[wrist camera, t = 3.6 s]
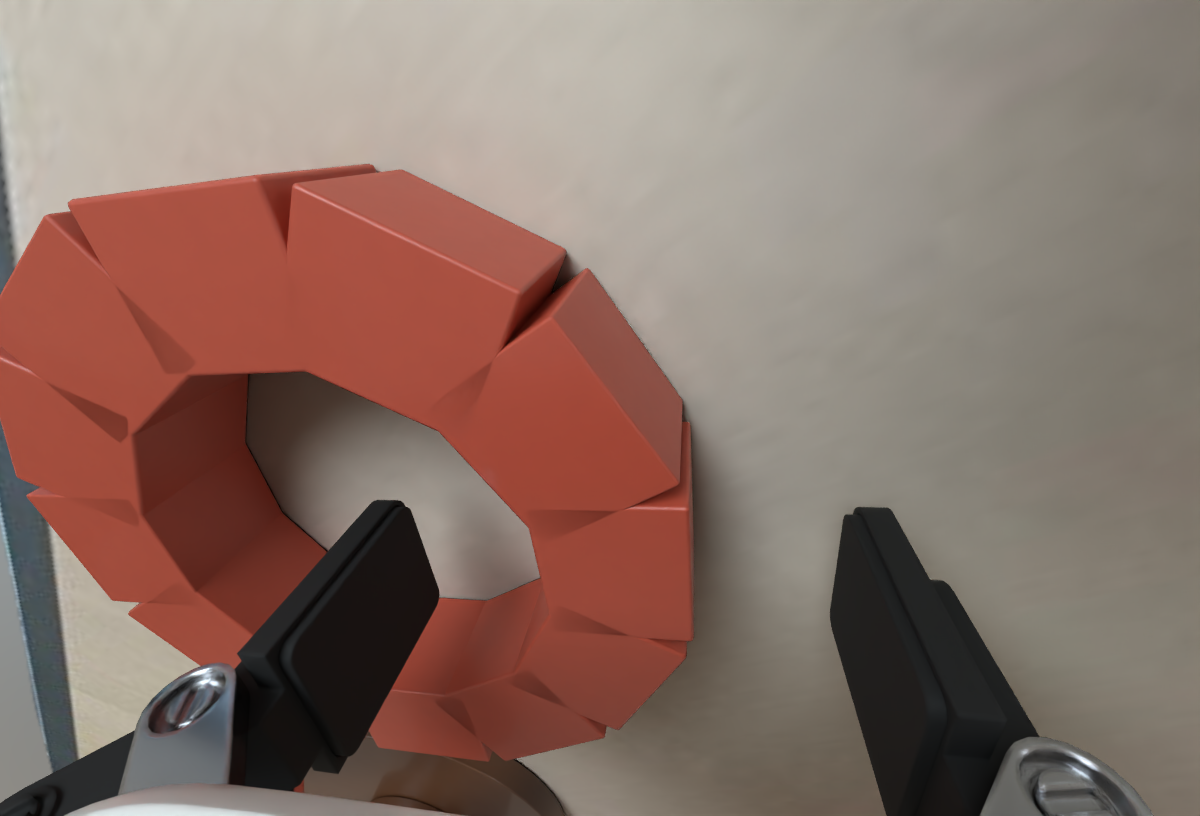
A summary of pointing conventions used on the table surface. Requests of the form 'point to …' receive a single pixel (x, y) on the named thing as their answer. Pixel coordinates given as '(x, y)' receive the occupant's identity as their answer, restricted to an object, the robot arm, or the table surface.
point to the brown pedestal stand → (436, 783)
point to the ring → (384, 376)
